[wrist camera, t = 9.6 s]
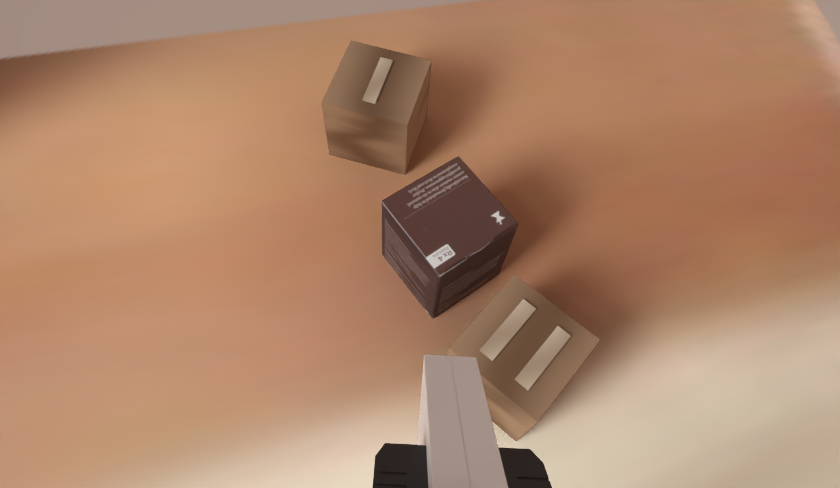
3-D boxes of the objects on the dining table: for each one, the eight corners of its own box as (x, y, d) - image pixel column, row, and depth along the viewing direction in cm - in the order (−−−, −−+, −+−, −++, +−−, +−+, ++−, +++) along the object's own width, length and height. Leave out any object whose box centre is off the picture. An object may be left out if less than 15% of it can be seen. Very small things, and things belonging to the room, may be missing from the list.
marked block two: (440, 376, 38) (449, 346, 33) (497, 310, 40) (515, 272, 35) (515, 441, 36) (538, 421, 31) (571, 369, 39) (601, 338, 33)
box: (449, 212, 44) (460, 152, 37) (501, 275, 41) (522, 223, 35) (379, 254, 42) (378, 199, 35) (430, 322, 40) (438, 276, 33)
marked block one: (329, 155, 45) (321, 100, 40) (355, 97, 48) (350, 38, 43) (405, 175, 45) (407, 122, 39) (426, 115, 48) (431, 58, 42)
